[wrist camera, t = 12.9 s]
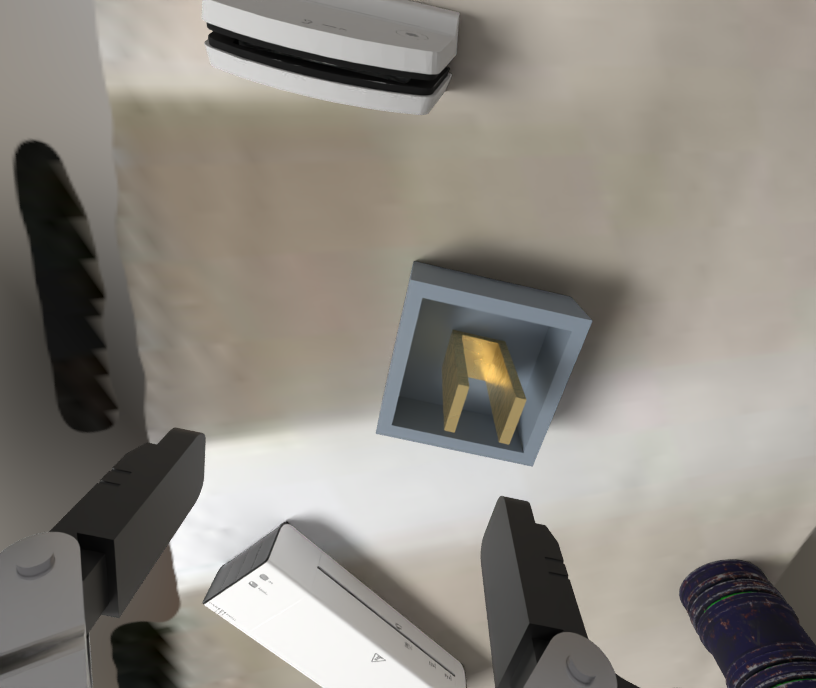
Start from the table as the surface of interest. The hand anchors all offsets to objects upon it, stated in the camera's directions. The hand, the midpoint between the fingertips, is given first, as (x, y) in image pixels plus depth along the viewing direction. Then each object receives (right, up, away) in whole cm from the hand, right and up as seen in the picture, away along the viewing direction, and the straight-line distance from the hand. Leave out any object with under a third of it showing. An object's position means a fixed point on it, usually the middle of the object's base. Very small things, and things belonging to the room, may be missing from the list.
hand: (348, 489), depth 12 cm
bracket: (+8, +3, +30) cm, 31 cm away
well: (+8, +3, +31) cm, 32 cm away
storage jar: (+39, -25, +42) cm, 62 cm away
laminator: (-6, -32, +48) cm, 58 cm away
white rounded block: (-3, +26, +22) cm, 34 cm away
